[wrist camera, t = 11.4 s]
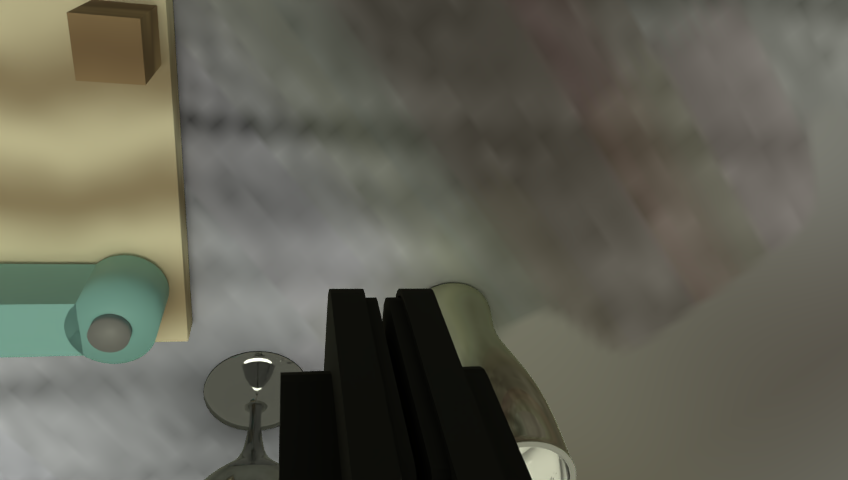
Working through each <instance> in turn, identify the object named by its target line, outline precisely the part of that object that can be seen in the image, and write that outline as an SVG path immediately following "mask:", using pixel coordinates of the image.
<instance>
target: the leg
mask: <svg viewBox="0 0 848 480" xmlns="http://www.w3.org/2000/svg"><path fill="white" fill-rule="evenodd" d="M168 297H169V285H168V281H167V279H166V277H165V275H164V274H163V272H162V271H161V270H160V269H159V268H158V267H157V266H155V265H154V264H153V263H151V262H149V261H147V260H145V259H143V258H140V257H136V256H130V255H118V256H112V257H109V258H106V259H104V260H102V261H100V262H99V263H97V264H0V357H37V356H79V355H84V356H85V357H87V358H90V359H92V360H95V361H98V362H102V363H109V364H118V363H126V362H130V361H133V360H136V359H138V358H140V357H142V356H143V355H144V354H146V353H147V352H148V351H149V350H150V349H151V347H152V346H153V344H154V342H155V340H156V337H157V333H158V330H159V327H160V323H161V320H162V317H163V313H164V310H165V307H166V303H167V300H168Z"/></svg>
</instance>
